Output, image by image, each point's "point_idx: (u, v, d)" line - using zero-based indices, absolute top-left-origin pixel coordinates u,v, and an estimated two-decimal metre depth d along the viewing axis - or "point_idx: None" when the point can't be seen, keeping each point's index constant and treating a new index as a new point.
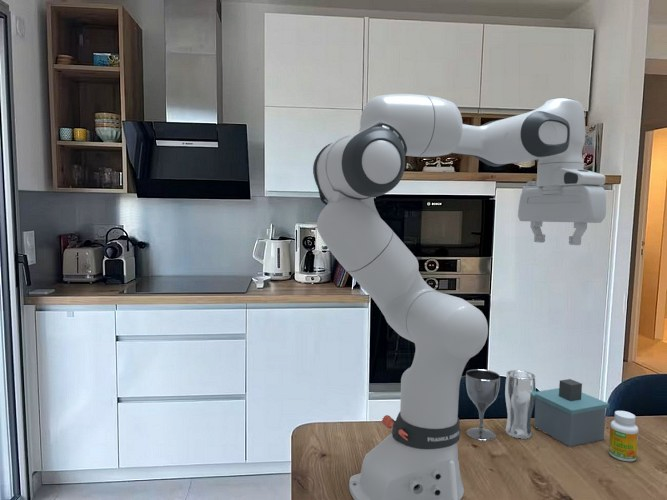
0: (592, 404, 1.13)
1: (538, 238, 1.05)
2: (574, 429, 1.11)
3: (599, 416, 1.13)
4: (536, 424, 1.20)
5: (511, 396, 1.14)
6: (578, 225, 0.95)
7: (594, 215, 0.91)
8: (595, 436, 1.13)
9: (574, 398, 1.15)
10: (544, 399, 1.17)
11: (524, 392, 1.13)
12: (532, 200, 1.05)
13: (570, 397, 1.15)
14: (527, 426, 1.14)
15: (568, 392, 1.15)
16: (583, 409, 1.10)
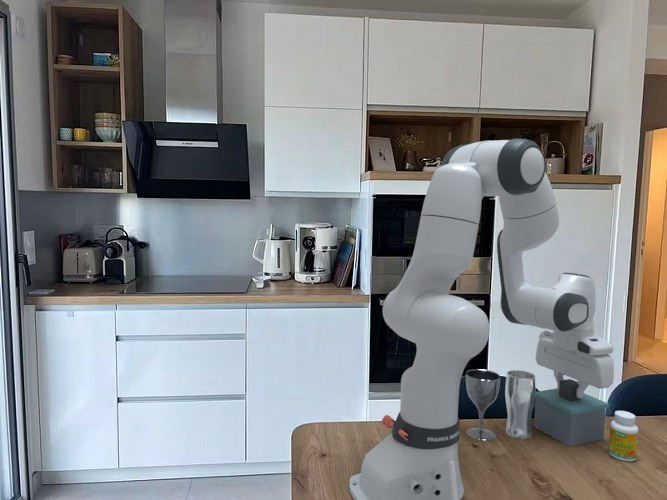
0: (592, 404, 1.13)
1: None
2: (574, 429, 1.11)
3: (599, 416, 1.13)
4: (536, 424, 1.20)
5: (511, 396, 1.14)
6: (581, 383, 1.12)
7: (603, 384, 1.06)
8: (595, 436, 1.13)
9: (574, 398, 1.15)
10: (544, 399, 1.17)
11: (524, 392, 1.13)
12: (548, 350, 1.21)
13: (570, 397, 1.15)
14: (527, 426, 1.14)
15: (568, 392, 1.15)
16: (583, 409, 1.10)
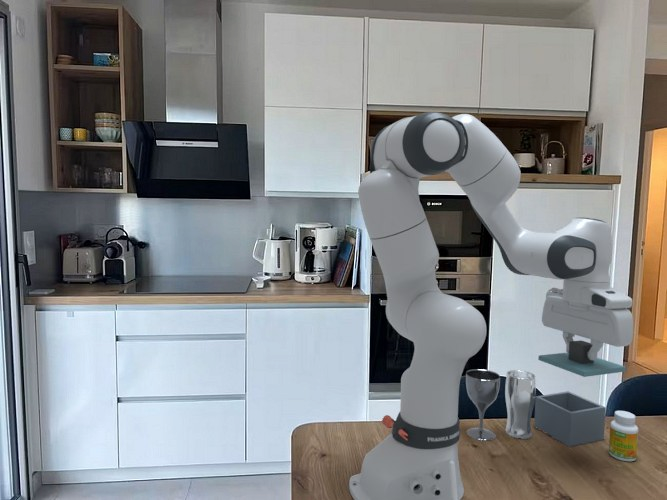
0: (607, 367, 0.99)
1: None
2: (574, 429, 1.11)
3: (599, 416, 1.13)
4: (536, 424, 1.20)
5: (511, 396, 1.14)
6: (595, 342, 0.99)
7: (621, 341, 0.93)
8: (595, 436, 1.13)
9: (586, 361, 1.01)
10: (551, 362, 1.03)
11: (524, 392, 1.13)
12: (557, 308, 1.07)
13: (582, 359, 1.01)
14: (527, 426, 1.14)
15: (579, 353, 1.01)
16: (597, 371, 0.97)
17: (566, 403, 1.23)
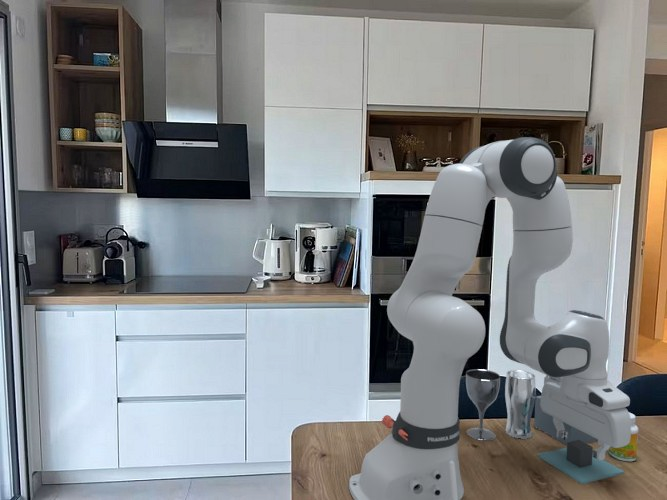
0: (605, 472, 0.99)
1: (561, 436, 1.06)
2: (574, 429, 1.11)
3: None
4: (536, 424, 1.20)
5: (511, 396, 1.14)
6: (603, 444, 0.96)
7: (619, 443, 0.92)
8: None
9: (584, 464, 1.01)
10: None
11: (524, 392, 1.13)
12: (555, 397, 1.07)
13: (580, 463, 1.00)
14: (527, 426, 1.14)
15: (577, 456, 1.01)
16: (595, 479, 0.96)
17: None
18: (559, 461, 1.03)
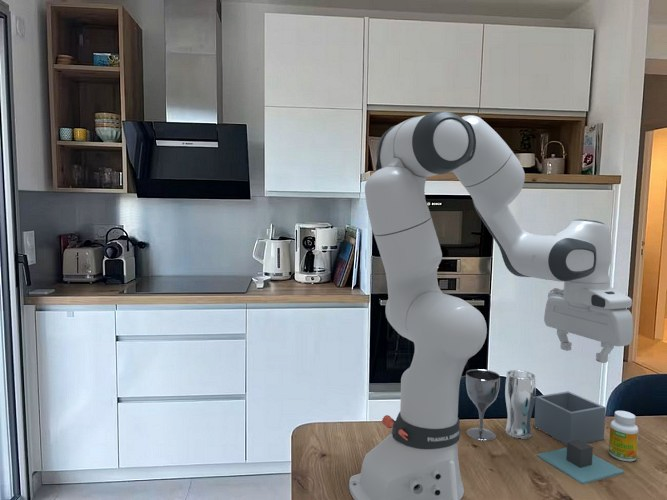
0: (605, 472, 0.99)
1: (565, 346, 1.08)
2: (574, 429, 1.11)
3: (599, 416, 1.13)
4: (536, 424, 1.20)
5: (511, 396, 1.14)
6: (605, 345, 0.98)
7: (621, 341, 0.94)
8: (595, 436, 1.13)
9: (584, 464, 1.01)
10: (550, 464, 1.03)
11: (524, 392, 1.13)
12: (558, 309, 1.09)
13: (580, 463, 1.00)
14: (527, 426, 1.14)
15: (577, 456, 1.01)
16: (595, 479, 0.96)
17: (566, 403, 1.23)
18: (559, 461, 1.03)
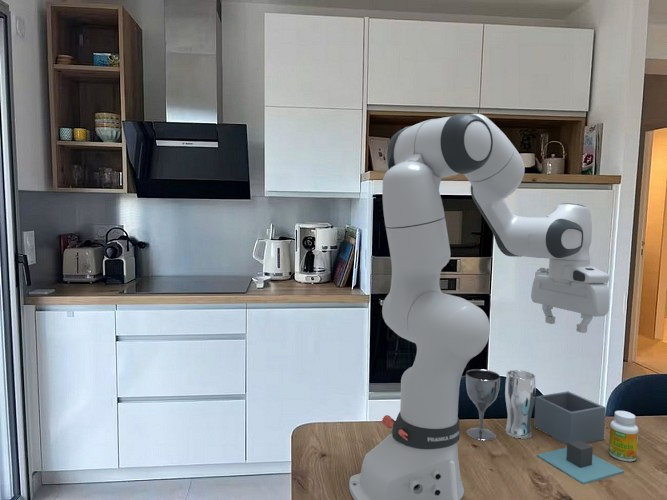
0: (605, 472, 0.99)
1: (549, 320, 1.19)
2: (574, 429, 1.11)
3: (599, 416, 1.13)
4: (536, 424, 1.20)
5: (511, 396, 1.14)
6: (585, 316, 1.09)
7: (598, 311, 1.05)
8: (595, 436, 1.13)
9: (584, 464, 1.01)
10: (550, 464, 1.02)
11: (524, 392, 1.13)
12: (544, 286, 1.19)
13: (580, 463, 1.00)
14: (527, 426, 1.14)
15: (577, 456, 1.01)
16: (596, 479, 0.96)
17: (566, 403, 1.23)
18: (559, 461, 1.03)
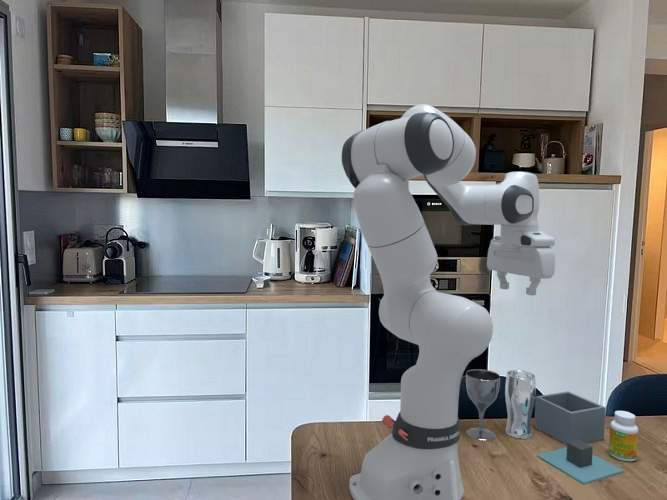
0: (605, 472, 0.99)
1: (503, 286, 1.23)
2: (574, 429, 1.11)
3: (599, 416, 1.13)
4: (536, 424, 1.20)
5: (511, 396, 1.14)
6: (533, 279, 1.13)
7: (544, 273, 1.09)
8: (595, 436, 1.13)
9: (584, 464, 1.01)
10: (550, 464, 1.02)
11: (524, 392, 1.13)
12: (497, 253, 1.24)
13: (580, 463, 1.00)
14: (527, 426, 1.14)
15: (577, 456, 1.01)
16: (596, 479, 0.96)
17: (566, 403, 1.23)
18: (559, 461, 1.03)
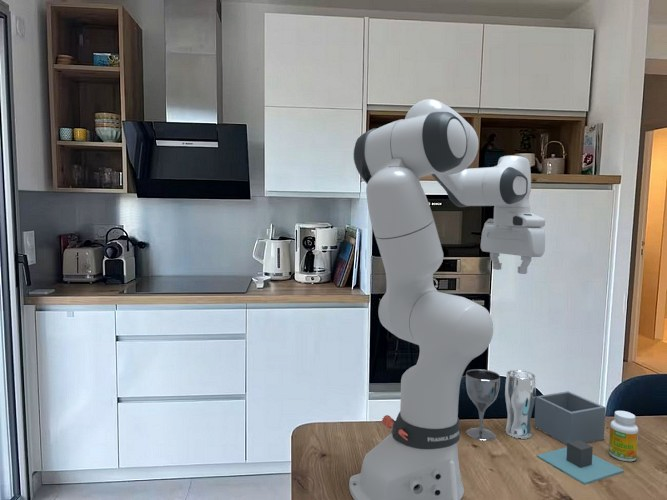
0: (605, 472, 0.99)
1: (495, 266, 1.28)
2: (574, 429, 1.11)
3: (599, 416, 1.13)
4: (536, 424, 1.20)
5: (511, 396, 1.14)
6: (524, 258, 1.18)
7: (534, 252, 1.15)
8: (595, 436, 1.13)
9: (584, 464, 1.01)
10: None
11: (524, 392, 1.13)
12: (491, 234, 1.29)
13: (581, 463, 1.00)
14: (527, 426, 1.14)
15: (577, 456, 1.01)
16: (596, 479, 0.96)
17: (566, 403, 1.23)
18: (559, 462, 1.03)
